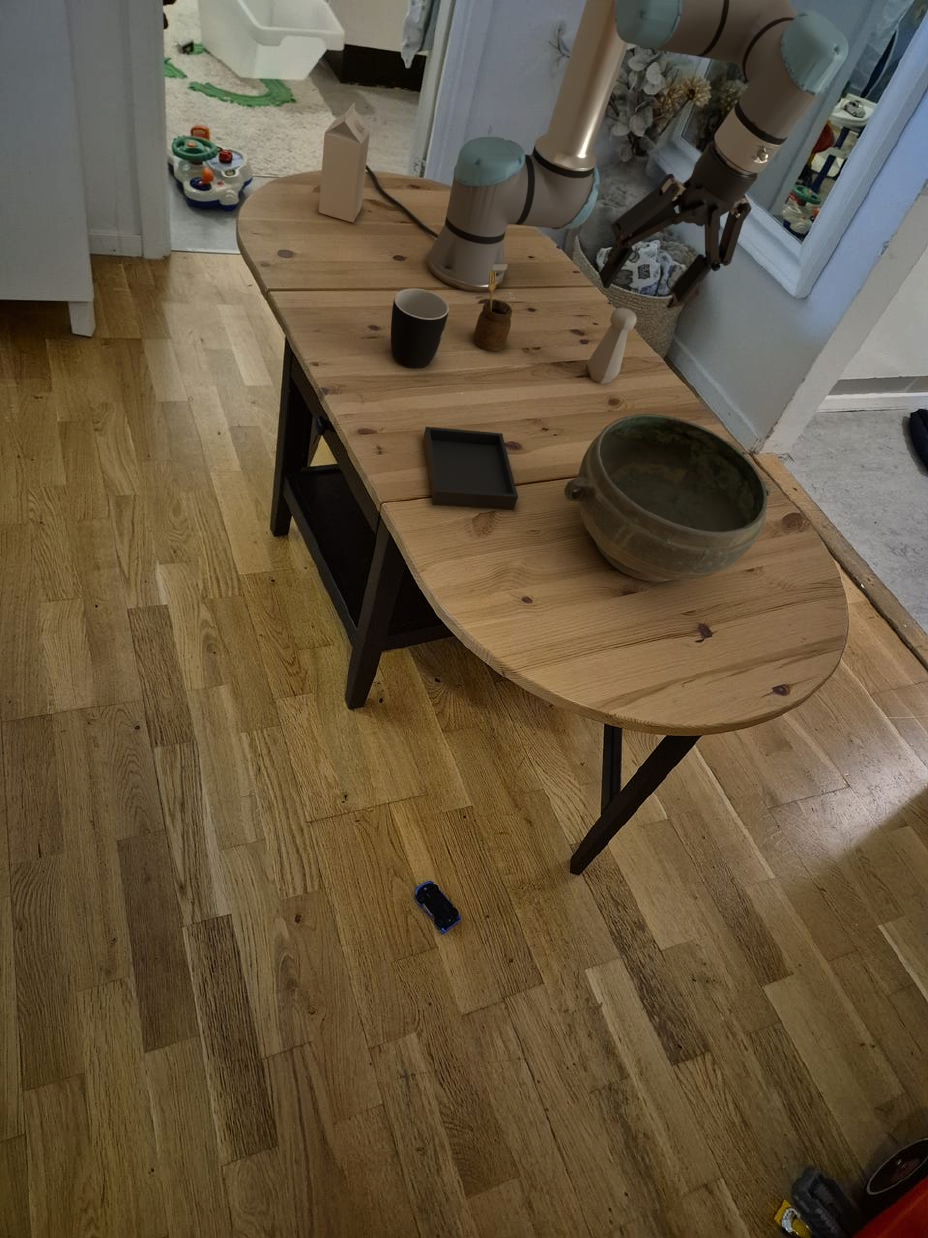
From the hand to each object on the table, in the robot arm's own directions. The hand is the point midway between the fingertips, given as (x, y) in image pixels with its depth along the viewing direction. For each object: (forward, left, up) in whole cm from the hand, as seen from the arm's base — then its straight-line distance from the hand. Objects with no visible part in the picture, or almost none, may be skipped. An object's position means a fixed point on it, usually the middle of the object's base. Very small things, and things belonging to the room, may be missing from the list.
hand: (641, 288), depth 117 cm
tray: (+16, -23, -24) cm, 37 cm away
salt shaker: (-13, +6, -24) cm, 28 cm away
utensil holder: (-20, -14, -24) cm, 34 cm away
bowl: (+29, +2, -24) cm, 38 cm away
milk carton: (-61, -39, -24) cm, 76 cm away
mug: (-14, -29, -24) cm, 40 cm away
